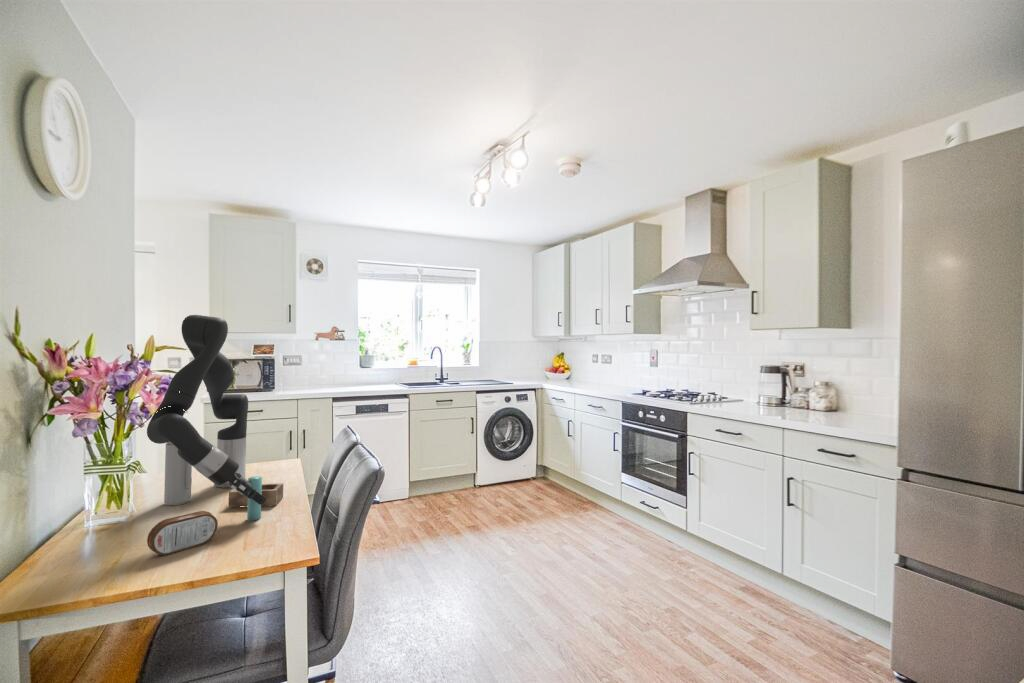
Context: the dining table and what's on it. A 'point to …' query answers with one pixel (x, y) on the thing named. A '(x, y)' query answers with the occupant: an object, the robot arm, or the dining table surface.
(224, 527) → the dining table surface
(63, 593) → the dining table surface
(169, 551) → the tin
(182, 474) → the water bottle
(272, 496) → the socket
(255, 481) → the peg
